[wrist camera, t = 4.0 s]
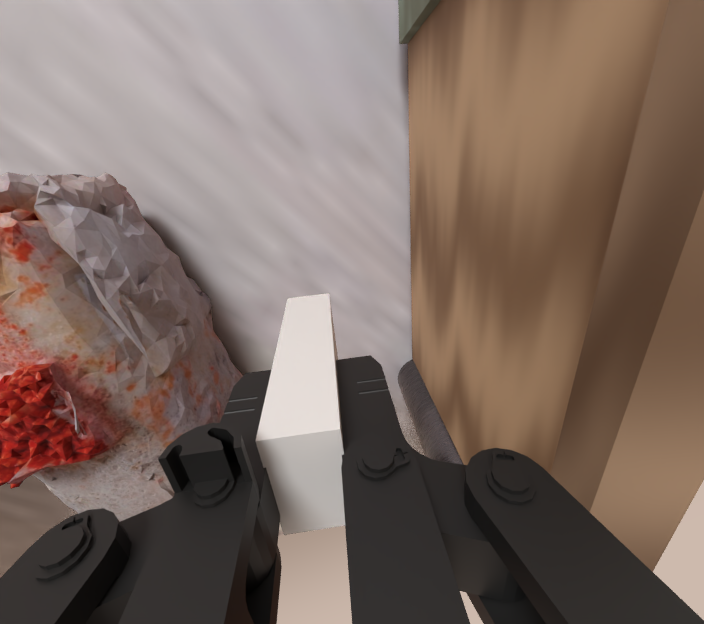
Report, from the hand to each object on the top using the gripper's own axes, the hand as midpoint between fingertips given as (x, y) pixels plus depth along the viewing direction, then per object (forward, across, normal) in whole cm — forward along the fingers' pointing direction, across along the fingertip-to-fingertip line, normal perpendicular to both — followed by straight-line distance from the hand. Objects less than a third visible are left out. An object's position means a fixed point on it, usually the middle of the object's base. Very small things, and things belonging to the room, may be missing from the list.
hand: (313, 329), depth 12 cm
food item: (+7, -9, -1) cm, 11 cm away
